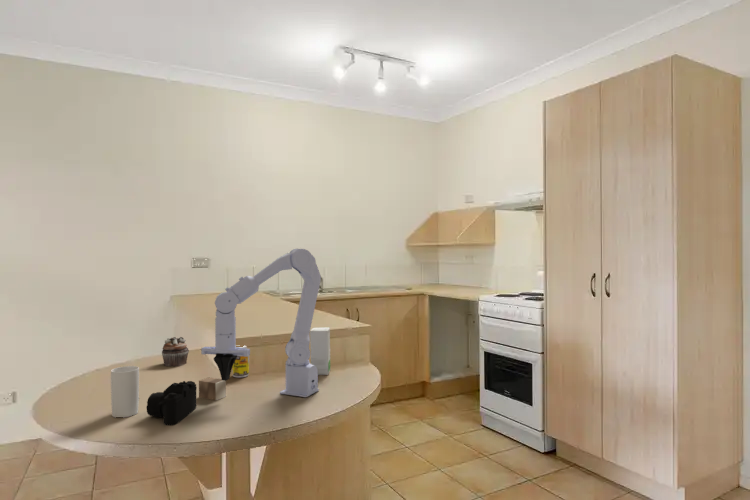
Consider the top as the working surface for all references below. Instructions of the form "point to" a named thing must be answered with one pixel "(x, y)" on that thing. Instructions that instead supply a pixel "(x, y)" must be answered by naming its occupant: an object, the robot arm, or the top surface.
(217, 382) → the walnut block
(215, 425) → the top surface
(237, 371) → the supplement bottle
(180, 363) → the cupcake
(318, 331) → the skincare box
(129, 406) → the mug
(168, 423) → the film camera
